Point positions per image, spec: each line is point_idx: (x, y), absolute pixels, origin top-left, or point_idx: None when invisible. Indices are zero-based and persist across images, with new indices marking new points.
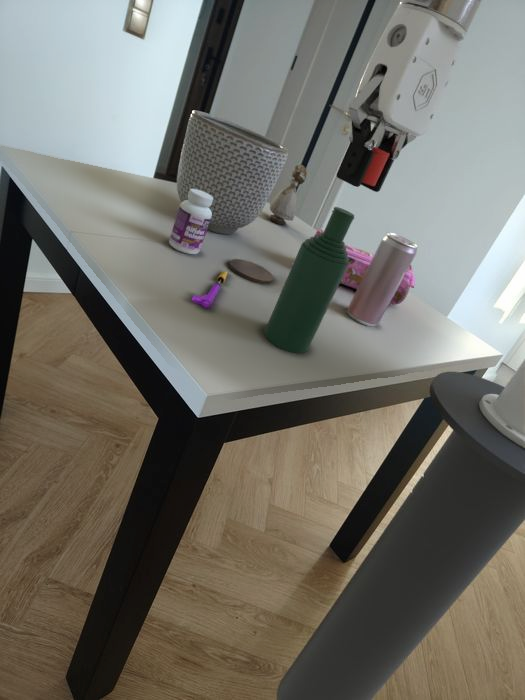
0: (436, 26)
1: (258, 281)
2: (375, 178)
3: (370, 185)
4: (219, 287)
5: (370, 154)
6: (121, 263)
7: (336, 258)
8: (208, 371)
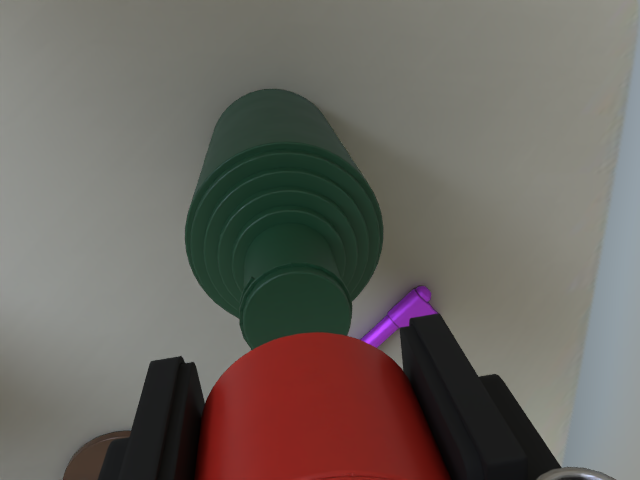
0: None
1: None
2: (307, 357)
3: (203, 407)
4: None
5: (515, 447)
6: None
7: (319, 161)
8: (593, 40)
